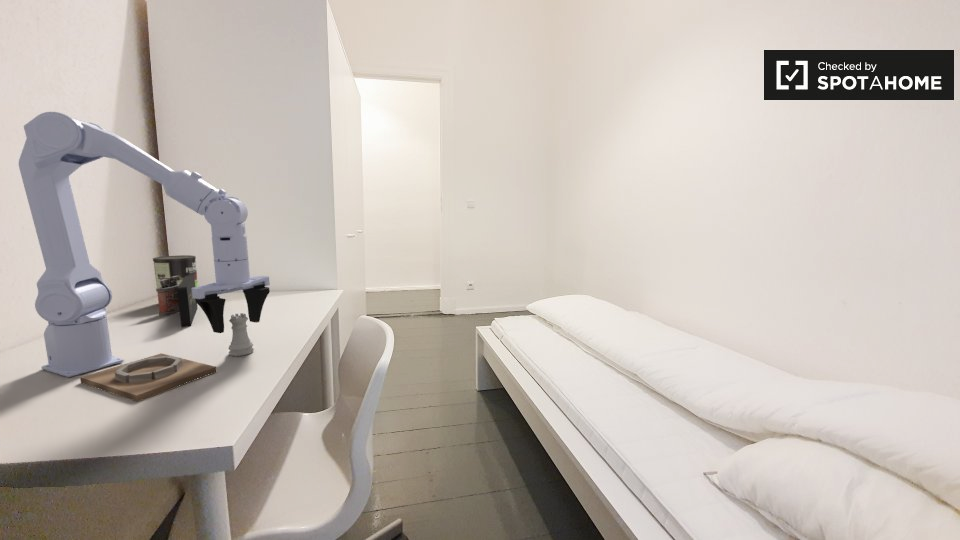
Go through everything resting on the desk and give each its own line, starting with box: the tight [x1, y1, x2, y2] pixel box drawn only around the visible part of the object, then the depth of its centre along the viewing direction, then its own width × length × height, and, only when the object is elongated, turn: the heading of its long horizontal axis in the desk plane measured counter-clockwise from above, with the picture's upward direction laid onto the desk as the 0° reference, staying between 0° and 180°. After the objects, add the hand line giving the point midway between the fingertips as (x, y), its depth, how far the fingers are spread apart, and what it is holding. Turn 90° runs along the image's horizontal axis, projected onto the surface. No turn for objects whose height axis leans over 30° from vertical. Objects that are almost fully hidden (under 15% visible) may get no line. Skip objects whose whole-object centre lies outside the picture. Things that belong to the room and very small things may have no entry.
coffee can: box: [152, 254, 199, 305], centre depth 120 cm, size 10×10×14 cm
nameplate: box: [177, 275, 198, 328], centre depth 105 cm, size 21×2×10 cm, turn 32°
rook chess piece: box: [228, 312, 255, 358], centre depth 79 cm, size 4×4×8 cm
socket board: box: [79, 352, 217, 403], centre depth 68 cm, size 16×12×2 cm
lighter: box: [155, 276, 180, 317], centre depth 109 cm, size 8×3×10 cm, turn 179°
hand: (237, 326), depth 79 cm, fingers open, 7 cm apart
